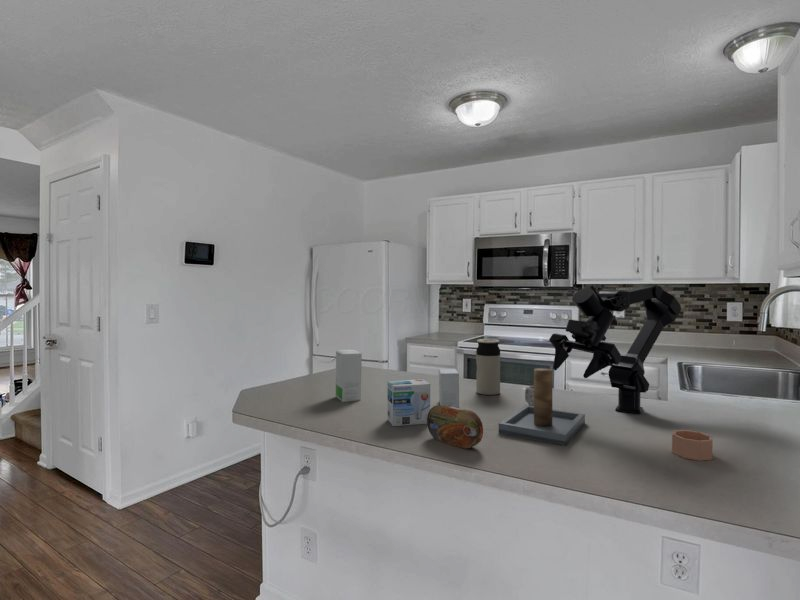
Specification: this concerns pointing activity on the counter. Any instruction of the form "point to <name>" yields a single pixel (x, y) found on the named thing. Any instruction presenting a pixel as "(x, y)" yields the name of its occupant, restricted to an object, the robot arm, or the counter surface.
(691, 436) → the terracotta cup
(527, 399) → the mug
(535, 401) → the walnut dowel
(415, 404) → the light bulb box
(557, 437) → the slate tray
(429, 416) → the tin
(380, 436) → the counter surface
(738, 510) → the counter surface
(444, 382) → the small box
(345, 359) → the skincare box
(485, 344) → the travel mug
